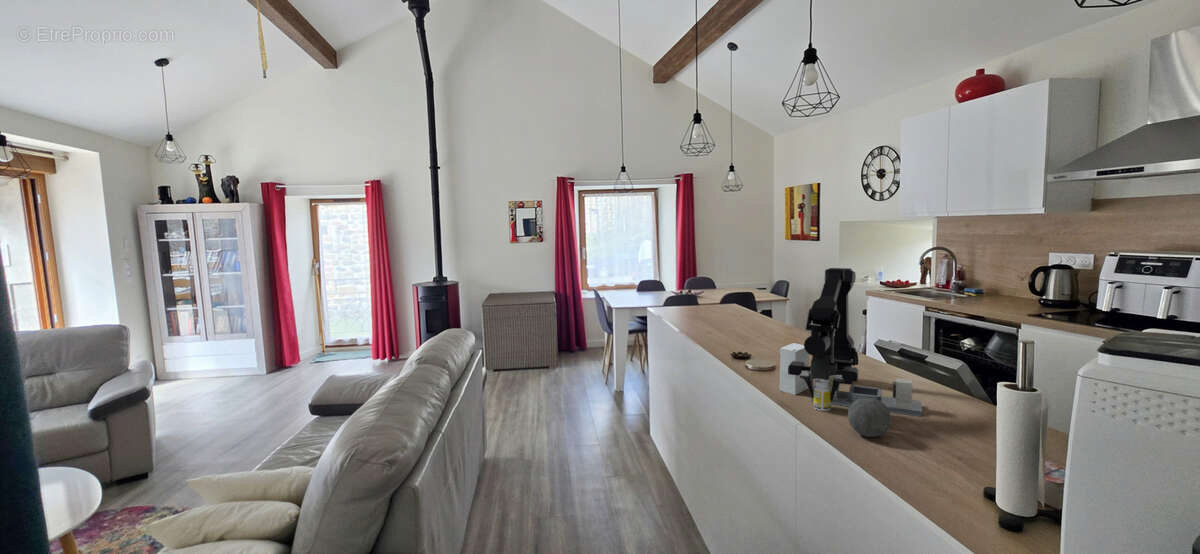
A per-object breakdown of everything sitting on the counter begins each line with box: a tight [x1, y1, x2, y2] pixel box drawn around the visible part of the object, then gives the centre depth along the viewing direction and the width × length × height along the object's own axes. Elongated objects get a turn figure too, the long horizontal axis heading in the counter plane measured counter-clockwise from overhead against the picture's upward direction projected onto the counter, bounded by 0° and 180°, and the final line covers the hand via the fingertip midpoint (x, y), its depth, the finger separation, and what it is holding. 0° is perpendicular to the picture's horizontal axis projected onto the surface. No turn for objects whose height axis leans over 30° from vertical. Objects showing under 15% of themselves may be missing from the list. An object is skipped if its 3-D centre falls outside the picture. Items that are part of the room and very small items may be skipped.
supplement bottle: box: [813, 379, 832, 412], centre depth 156 cm, size 5×5×8 cm
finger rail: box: [811, 375, 923, 417], centre depth 158 cm, size 9×29×8 cm, turn 60°
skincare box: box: [779, 342, 810, 396], centre depth 171 cm, size 8×6×15 cm
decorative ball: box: [847, 397, 892, 438], centre depth 136 cm, size 10×10×10 cm
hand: (822, 399), depth 156 cm, fingers closed on supplement bottle, 5 cm apart
